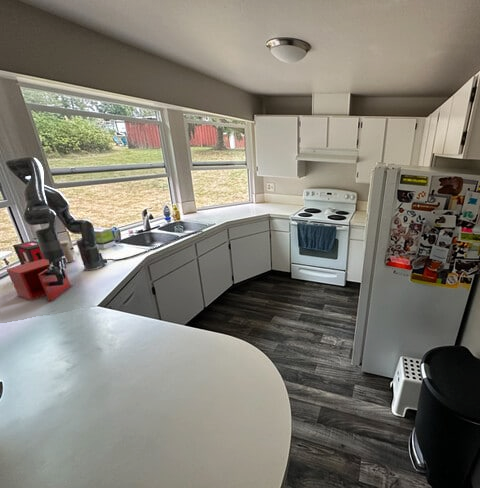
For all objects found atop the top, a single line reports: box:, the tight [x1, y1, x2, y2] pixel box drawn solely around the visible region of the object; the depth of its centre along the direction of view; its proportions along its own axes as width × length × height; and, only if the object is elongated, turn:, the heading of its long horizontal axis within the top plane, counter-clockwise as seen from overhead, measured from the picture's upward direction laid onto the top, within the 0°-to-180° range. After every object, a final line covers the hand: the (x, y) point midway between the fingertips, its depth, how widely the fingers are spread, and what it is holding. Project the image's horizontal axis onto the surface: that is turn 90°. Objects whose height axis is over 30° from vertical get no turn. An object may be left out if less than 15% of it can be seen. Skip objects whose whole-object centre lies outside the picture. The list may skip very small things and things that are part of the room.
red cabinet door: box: [38, 269, 72, 302], centre depth 136 cm, size 6×16×16 cm, turn 16°
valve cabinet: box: [5, 259, 50, 301], centre depth 137 cm, size 12×16×16 cm
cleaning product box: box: [12, 240, 44, 265], centre depth 154 cm, size 16×9×20 cm, turn 70°
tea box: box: [93, 226, 116, 250], centre depth 202 cm, size 15×10×15 cm, turn 80°
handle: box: [59, 239, 75, 263], centre depth 173 cm, size 5×6×15 cm
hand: (62, 278), depth 132 cm, fingers closed on red cabinet door, 2 cm apart
